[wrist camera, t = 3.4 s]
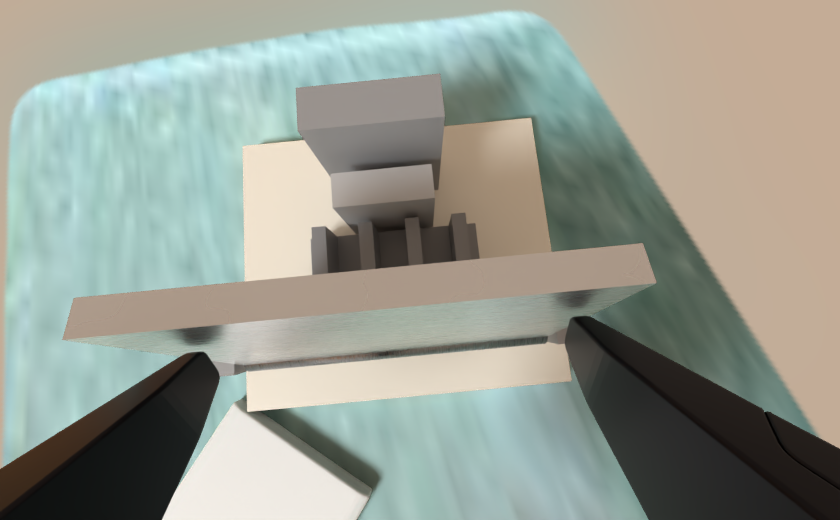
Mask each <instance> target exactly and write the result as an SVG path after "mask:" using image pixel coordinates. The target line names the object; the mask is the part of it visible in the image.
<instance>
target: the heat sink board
mask: <svg viewBox="0 0 840 520" xmlns="http://www.w3.org/2000/svg"><path fill="white" fill-rule="evenodd" d="M296 102H297V125H298V132H299V133H300V135H301V136H302V138H303V139H304V140H299V141H289V142H279V143H269V144H258V145H248V146H243V193H244V253H245V281H255V280H266V279H276V278H286V277H297V276H307V275H318V274H328V273H338V272H349V271H359V270H370V269H380V268H390V267H401V266H411V265H421V264H432V263H442V262H453V261H463V260H473V259H484V258H494V257H505V256H515V255H525V254H536V253H546V252H552V250H551V243H550V237H549V230H548V224H547V218H546V211H545V205H544V198H543V192H542V185H541V179H540V173H539V166H538V160H537V153H536V147H535V140H534V134H533V128H532V121H531V118H523V119H513V120H503V121H493V122H482V123H472V124H462V125H452V126H444V122H445V112H444V103H443V94H442V86H441V77H440V74H432V75H422V76H412V77H402V78H392V79H382V80H371V81H361V82H351V83H341V84H331V85H321V86H311V87H301V88H296ZM567 328H568V327H566V328H564V329H562V330H560V331H558V332H556V333H554V334H552V335H550V336H548V340H547V343H546V344H537V345H527V346H516V347H506V348H495V349H485V350H474V351H464V352H453V353H443V354H432V355H422V356H411V357H401V358H390V359H380V360H369V361H359V362H348V363H338V364H327V365H316V366H306V367H295V368H285V369H274V370H264V371H253V372H248V371H247V370H246V369H245V367H244V365H238V364H231V363H223V362H216V361H212V362H213V364H214V365H215V366H216V368H217V369H218V371H219V376H231V375H236V374H240V373H243V372H247V412H251V411H262V410H273V409H283V408H294V407H304V406H315V405H325V404H336V403H347V402H357V401H368V400H378V399H389V398H400V397H410V396H421V395H431V394H442V393H452V392H463V391H474V390H484V389H495V388H505V387H516V386H527V385H537V384H548V383H558V382H569V381H572V378H571V372H570V365H569V359H568V354H567V351H566V348H565V336H566V332H567Z"/></svg>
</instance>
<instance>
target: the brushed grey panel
mask: <svg viewBox="0 0 840 520" xmlns="http://www.w3.org/2000/svg"><path fill="white" fill-rule="evenodd" d="M656 283H657V282H656V279H655V276H654V274H653V271H652V268H651V265H650V262H649V259H648V256H647V253H646V250H645V248H644V245H643V243H640V244H629V245H619V246H608V247H598V248H588V249H577V250H567V251H556V252H546V253H536V254H525V255H515V256H505V257H494V258H484V259H473V260H463V261H453V262H442V263H432V264H421V265H411V266H401V267H390V268H380V269H370V270H359V271H349V272H338V273H328V274H318V275H307V276H297V277H286V278H276V279H266V280H255V281H245V282H235V283H224V284H214V285H203V286H193V287H183V288H172V289H162V290H152V291H141V292H131V293H120V294H110V295H100V296H89V297H79V298H74V299H73V303H72V306H71V310H70V314H69V317H68V321H67V325H66V328H65V332H64V336H63V339H62V340H66V341H73V342H81V343H88V344H95V345H102V346H109V347H116V348H123V349H131V350H138V351H145V352H152V353H159V354H166V355H173V356H182V355H184V354H186V353H189V352H199V351H202V352H205V353H206V354H207V355H208V356H209V358H210V359H211V361H216V362H223V363H231V364H238V365H244V367H245V369H246V370H247V371H248V372H253V371H264V370H274V369H285V368H295V367H306V366H316V365H327V364H338V363H348V362H359V361H369V360H380V359H390V358H401V357H411V356H422V355H432V354H443V353H453V352H464V351H474V350H485V349H495V348H506V347H516V346H527V345H537V344H546V343H547V340H548V336H550V335H552V334H554V333H556V332H558V331H560V330H562V329H564V328H566V327H568V324H569V320H570V318H571V317H574V316H585V315H586V316H591V315H593V314H595V313H597V312H599V311H601V310H603V309H605V308H607V307H609V306H611V305H613V304H615V303H617V302H619V301H621V300H623V299H625V298H627V297H629V296H631V295H633V294H635V293H637V292H639V291H642V290H644V289H646V288H648V287H650V286H652V285H654V284H656Z"/></svg>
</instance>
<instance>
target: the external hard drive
mask: <svg viewBox="0 0 840 520" xmlns="http://www.w3.org/2000/svg"><path fill="white" fill-rule="evenodd" d="M371 491H372V488H370V487H369V486H368V485H366V484H365V483H363V482H362V481H360V480H359V479H357V478H356V477H354V476H353V475H351V474H350V473H349V472H347V471H346V470H344V469H343V468H341V467H340V466H338V465H337V464H336V463H334V462H333V461H331V460H330V459H328V458H327V457H325V456H324V455H323V454H321V453H320V452H318V451H317V450H315V449H314V448H312V447H311V446H310V445H308V444H307V443H305V442H304V441H302V440H301V439H299V438H298V437H297V436H295V435H294V434H292V433H291V432H289V431H288V430H286V429H285V428H284V427H282V426H281V425H279V424H278V423H276V422H275V421H274V420H272V419H271V418H269V417H268V416H266V415H265V414H264V413H262V412H261V411H251V412H247V402H246V401H245V400H243V399H240V400H239V401H236V402H234V403H233V405H232V406H231V408H230V409H229V411H228V412H227V414H226V415H225V417H224V418H223V420H222V421H221V423H220V424H219V426H218V427H217V429H216V430H215V432H214V433H213V435H212V436H211V438H210V440H209V441H208V443H207V444H206V446H205V447H204V449H203V450H202V452H201V453H200V455H199V456H198V458H197V459H196V461H195V462H194V464H193V465H192V467H191V468H190V470H189V471H188V473H187V474H186V476H185V477H184V479H183V480H182V482H181V484H180V485H179V487H178V488H177V490H176V491H175V493H174V495H173V497H172V499H171V501H170V504H169V506H168V508H167V510H166V512H165V514H164V517H163V519H162V520H357V518H358V517H359V515H360V513H361V512H362V510H363V508H364V506H365V504H366V503H367V501H368V499H369V497H370V494H371Z"/></svg>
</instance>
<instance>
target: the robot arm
mask: <svg viewBox="0 0 840 520" xmlns="http://www.w3.org/2000/svg"><path fill="white" fill-rule="evenodd" d="M565 348H566V351H567V354H568V356H569V359H570V361H571V364H572V366H573V369H574V371H575V374H576V377H577V379H578V382H579V384H580V387H581V389H582V392H583V394H584V397H585V399H586V402H587V404H588V406H589V408H590V410H591V412H592V413H593V415H594V417H595V419H596V421H597V423H598V425H599V427H600V429H601V430H602V432H603V434H604V436H605V438H606V440H607V442H608V444H609V446H610V447H611V449H612V451H613V453H614V455H615V457H616V459H617V461H618V462H619V464H620V466H621V468H622V470H623V472H624V474H625V476H626V478H627V479H628V481H629V483H630V485H631V487H632V489H633V491H634V493H635V495H636V496H637V498H638V500H639V502H640V504H641V506H642V508H643V510H644V512H645V513H646V515H647V517H648V519H649V520H840V449H839V448H837V447H835V446H834V445H832V444H830V443H828V442H826V441H824V440H822V439H820V438H818V437H816V436H814V435H812V434H810V433H808V432H807V431H805V430H803V429H801V428H799V427H797V426H795V425H793V424H791V423H789V422H787V421H786V420H784V419H782V418H780V417H778V416H776V415H774V414H772V413H771V412H764V410H763V409H762V408H760V407H758V406H756V405H754V404H752V403H751V402H749V401H747V400H745V399H743V398H741V397H739V396H738V395H736V394H734V393H732V392H730V391H728V390H726V389H724V388H723V387H721V386H719V385H717V384H715V383H713V382H711V381H710V380H708V379H706V378H704V377H702V376H700V375H698V374H696V373H695V372H693V371H691V370H689V369H687V368H685V367H683V366H681V365H680V364H678V363H676V362H674V361H672V360H670V359H668V358H667V357H665V356H663V355H661V354H659V353H657V352H655V351H653V350H652V349H650V348H648V347H646V346H644V345H642V344H640V343H639V342H637V341H635V340H633V339H631V338H629V337H627V336H625V335H624V334H622V333H620V332H618V331H616V330H614V329H612V328H611V327H609V326H607V325H605V324H603V323H601V322H599V321H597V320H596V319H594V318H592V317H590V316H586V315H585V316H574V317H571V318H570V320H569V324H568V328H567V332H566V336H565ZM219 379H220V376H219V371H218V369H217V368H216V366H215V365H214V364H213V362H212V361H211V359H210V358H209V356H208V355H207V354H206V353H205V352H202V351H199V352H189V353H186V354H184V355H182V356H180V357H179V358H177V359H176V360H174V361H172V362H171V363H169V364H168V365H166V366H164V367H163V368H161V369H160V370H158V371H156V372H155V373H153V374H152V375H150V376H148V377H147V378H145V379H144V380H142V381H140V382H139V383H137V384H136V385H134V386H132V387H131V388H129V389H128V390H126V391H124V392H123V393H121V394H120V395H118V396H116V397H115V398H113V399H112V400H110V401H108V402H107V403H105V404H104V405H102V406H100V407H99V408H97V409H96V410H94V411H92V412H91V413H89V414H88V415H86V416H84V417H83V418H81V419H80V420H78V421H76V422H75V423H73V424H72V425H70V426H68V427H67V428H65V429H64V430H62V431H60V432H59V433H57V434H56V435H54V436H52V437H51V438H49V439H48V440H46V441H44V442H43V443H41V444H40V445H38V446H36V447H35V448H33V449H32V450H30V451H28V452H27V453H25V454H24V455H22V456H20V457H19V458H17V459H16V460H14V461H12V462H11V463H9V464H8V465H6V466H4V467H3V468H1V469H0V520H162V519H163V517H164V514H165V512H166V510H167V508H168V506H169V504H170V501H171V499H172V497H173V495H174V493H175V491H176V488H177V486H178V484H179V482H180V480H181V478H182V475H183V473H184V471H185V469H186V467H187V465H188V462H189V460H190V458H191V456H192V454H193V452H194V449H195V447H196V445H197V443H198V440H199V438H200V436H201V433H202V430H203V428H204V425H205V422H206V419H207V416H208V413H209V410H210V407H211V404H212V401H213V398H214V396H215V393H216V390H217V387H218V384H219Z"/></svg>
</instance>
